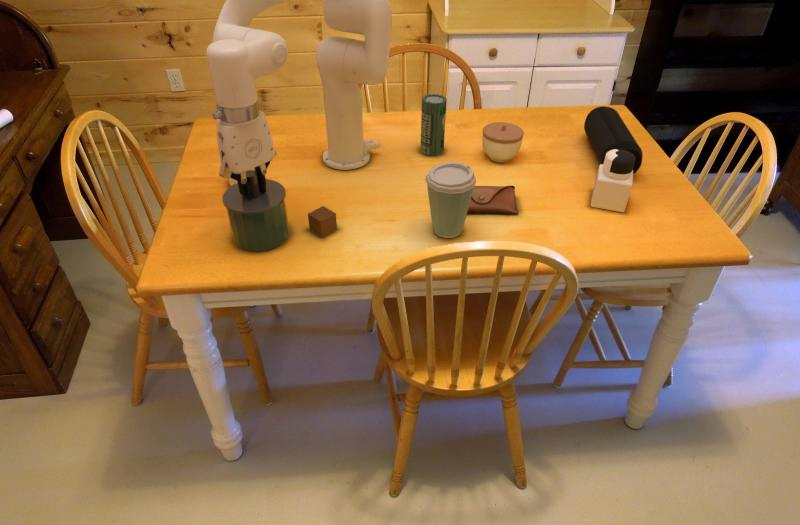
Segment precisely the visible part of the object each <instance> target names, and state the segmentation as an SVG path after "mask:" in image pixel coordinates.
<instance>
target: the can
mask: <svg viewBox="0 0 800 525" xmlns="http://www.w3.org/2000/svg"><path fill="white" fill-rule="evenodd" d="M447 100H448V99H447V97H446V96H444V95H442V94H437V93H433V94H431V93H429V94H426V95H424V96H422V98H421V117H420V118H421V119H420V120H421V121H420V147H419V148H420V149H419V151H420V153H421V154H422V155H424V156H427V157H438V156H441V155H442V154H444V150H445V133H446V118H447V117H446V116H447Z"/></svg>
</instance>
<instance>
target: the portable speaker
mask: <svg viewBox="0 0 800 525" xmlns="http://www.w3.org/2000/svg"><path fill="white" fill-rule="evenodd" d="M583 129H584V132H585V135H586V137H587V139H588V141H589V143H590V145H591V146H592V149H593V151H594V153H595V155H596V157H597V159H598V161H599V163H600V164H604V160H605V156H606V153H607V152H608V151H610V150H614V149H622V150H626V151H628V152H631V153H632V154H633V155H634V156H635V158H636V160H635V164H634V167H633V175H635V174H636V173H637V172H638V171H639V169H640V168H641V166H642V164H643V157H644V156H643V154H644V153H643V150H642V148H641V147H640V145H639V144H638V142H637V140H636V139H635V137H634V136H633V133H631V131H630V129H629V127H628V126H627V125H626V123H625V122H624V120H623V119H622V117H621V115H620V113H619V111H617V110H616V109H615V108H613V107H610V106H606V105H602V106H597V107H594V108H593V109H592V110H590V111H589V112H588V114H587V116H586V117H585V119H584V123H583Z"/></svg>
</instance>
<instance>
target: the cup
mask: <svg viewBox="0 0 800 525" xmlns="http://www.w3.org/2000/svg"><path fill="white" fill-rule="evenodd" d="M225 209H226V212H227V217H228V221H229V228H230V231H231V235H232V239H233V242H234V244H235V245H236V246H237V247H238V248H240V249H241V250H244V251H247V252H253V253H260V252H261V253H262V252H267V251H272V250H274V249H276V248H278V247H281V246H282V245H283V244H284V243H286V241H287V240H288V238H289V236H290V228H289V220H288V213H287V204H286V198H285V199H284V201H283V202H282V203H281V204H280V205H279V206H277V207H276V208H274V209H272V210H269V211H266V212H263V213H258V214H240V213H235V212H233V211H230V210H229V209H227V208H226V207H225Z"/></svg>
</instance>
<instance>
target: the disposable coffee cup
mask: <svg viewBox="0 0 800 525" xmlns="http://www.w3.org/2000/svg"><path fill="white" fill-rule="evenodd" d="M425 182H426V188H427V196H428V202H429V210H430V211H429V212H430V219H431V225H432V230H433V232H434V234H435V235H437V236H438V237H440V238H444V239H453V238H456V237H458V236H460V235H461V233H462V231H463V230H464V227H465V222H466V218H467V215H468V213H467V211H468V207H469V203H470V199H471V195H472V192H473V188H474V186H476V184H477V178H476V176H475V172H474V170H473V168H472V167H471V166H470V165H468V164H466V163H464V162H460V161H447V162H441V163H439V164H437V165H434V166H433V167H431V169H430V170H429V171H428V172H427V173H426V175H425Z"/></svg>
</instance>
